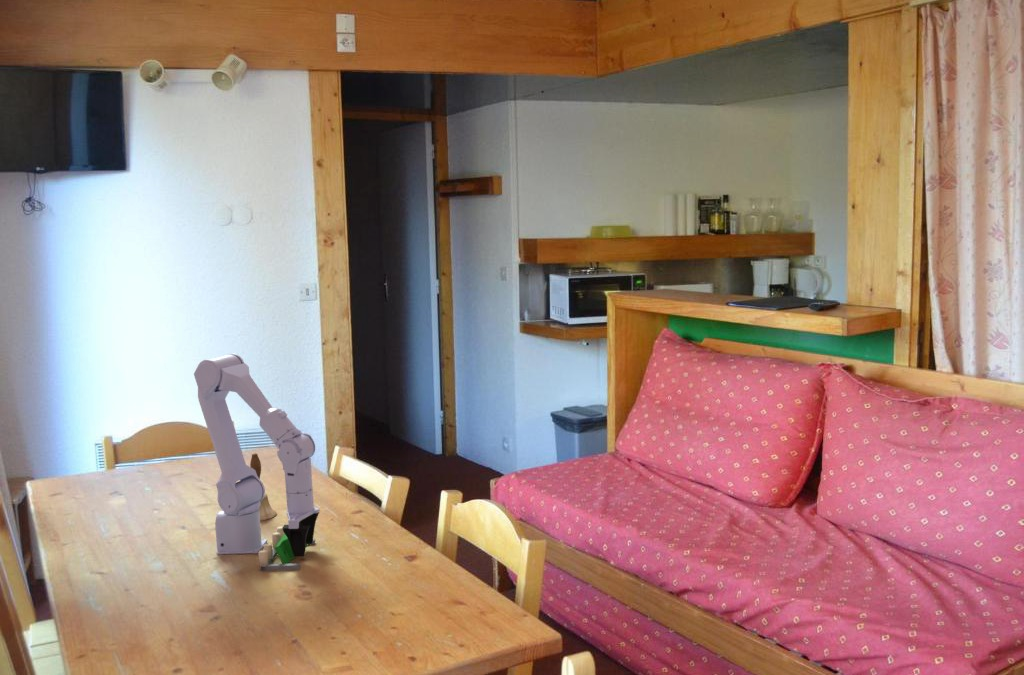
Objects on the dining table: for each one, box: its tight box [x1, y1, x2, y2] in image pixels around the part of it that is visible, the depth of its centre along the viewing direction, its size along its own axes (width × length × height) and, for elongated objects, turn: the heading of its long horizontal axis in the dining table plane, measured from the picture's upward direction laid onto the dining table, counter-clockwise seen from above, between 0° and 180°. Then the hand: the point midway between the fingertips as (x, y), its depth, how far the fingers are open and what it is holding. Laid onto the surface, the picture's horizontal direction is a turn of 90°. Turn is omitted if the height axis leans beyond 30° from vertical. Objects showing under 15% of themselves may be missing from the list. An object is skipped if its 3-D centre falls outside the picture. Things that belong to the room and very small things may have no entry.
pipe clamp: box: [275, 534, 308, 564], centre depth 213 cm, size 11×4×5 cm, turn 179°
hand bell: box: [249, 452, 278, 522], centre depth 241 cm, size 8×8×16 cm
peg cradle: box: [258, 525, 316, 572], centre depth 213 cm, size 8×17×4 cm, turn 179°
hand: (303, 549), depth 213 cm, fingers open, 7 cm apart
